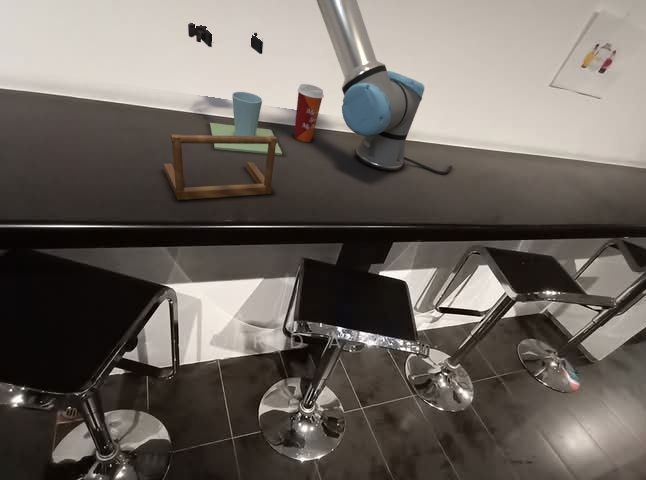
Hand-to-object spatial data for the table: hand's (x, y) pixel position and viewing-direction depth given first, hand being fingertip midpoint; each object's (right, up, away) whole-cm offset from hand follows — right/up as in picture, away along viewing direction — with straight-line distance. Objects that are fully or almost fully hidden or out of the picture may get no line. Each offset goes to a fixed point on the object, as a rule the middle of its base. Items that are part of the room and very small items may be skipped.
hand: (236, 44), depth 88 cm
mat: (0, -21, +9) cm, 22 cm away
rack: (-2, -39, -10) cm, 40 cm away
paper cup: (+16, -15, +19) cm, 29 cm away
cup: (0, -20, +8) cm, 22 cm away
